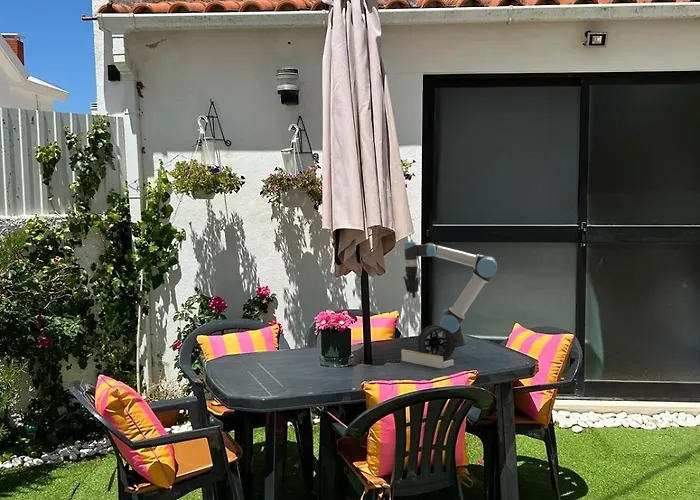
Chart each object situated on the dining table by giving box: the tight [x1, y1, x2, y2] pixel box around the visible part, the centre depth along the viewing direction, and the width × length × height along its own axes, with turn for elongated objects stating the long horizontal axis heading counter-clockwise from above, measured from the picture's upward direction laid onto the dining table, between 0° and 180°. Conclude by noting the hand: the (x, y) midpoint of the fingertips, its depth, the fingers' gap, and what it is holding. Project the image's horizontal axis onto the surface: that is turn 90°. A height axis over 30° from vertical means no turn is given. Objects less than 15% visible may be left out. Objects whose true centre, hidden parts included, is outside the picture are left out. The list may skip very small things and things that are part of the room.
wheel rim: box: [417, 324, 456, 362], centre depth 379 cm, size 20×9×20 cm, turn 104°
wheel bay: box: [400, 349, 455, 369], centre depth 374 cm, size 10×31×7 cm, turn 41°
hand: (412, 302), depth 412 cm, fingers closed
